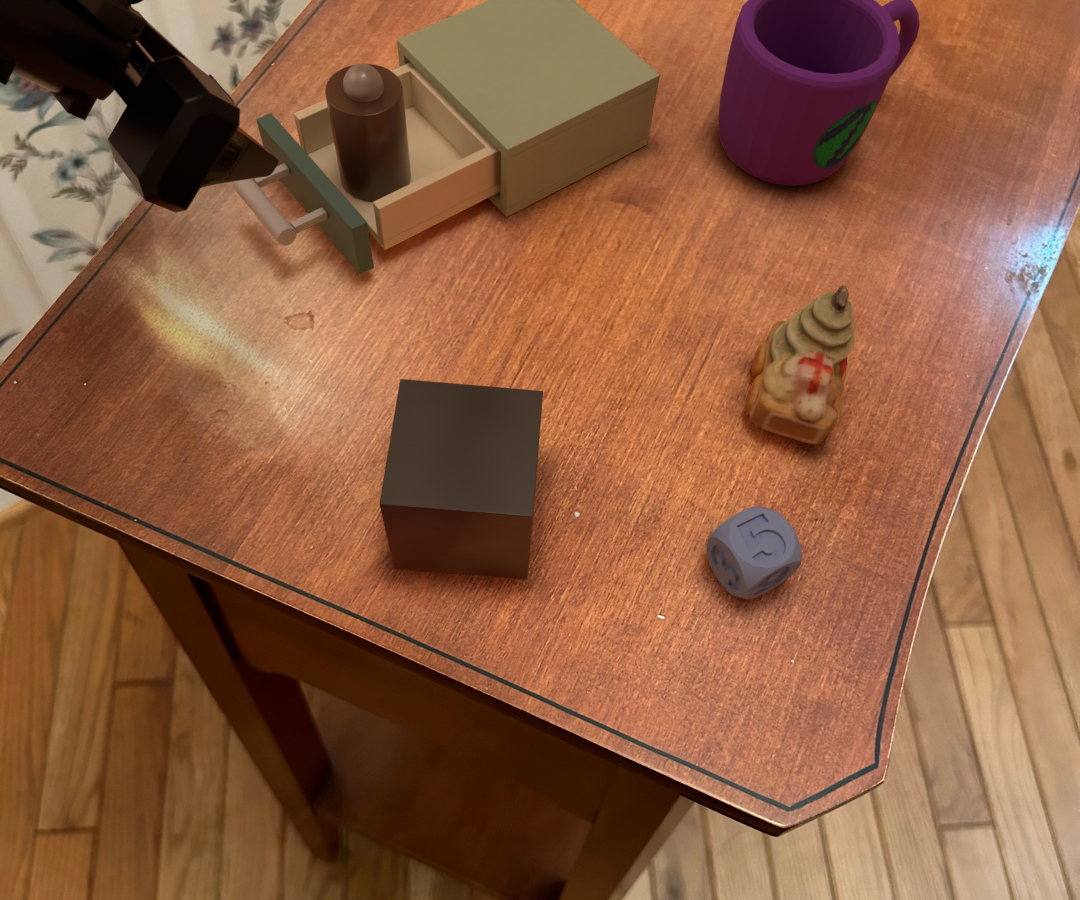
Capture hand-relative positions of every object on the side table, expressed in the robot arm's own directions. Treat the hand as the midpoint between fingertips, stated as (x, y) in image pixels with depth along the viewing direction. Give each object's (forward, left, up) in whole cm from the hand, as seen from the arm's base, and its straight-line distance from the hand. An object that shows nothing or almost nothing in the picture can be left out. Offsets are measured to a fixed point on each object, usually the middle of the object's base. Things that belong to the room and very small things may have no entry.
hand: (235, 122), depth 56 cm
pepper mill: (+5, +8, -9) cm, 13 cm away
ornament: (+37, +1, -12) cm, 39 cm away
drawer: (+4, +7, -10) cm, 13 cm away
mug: (+33, +27, -12) cm, 44 cm away
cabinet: (+12, +19, -11) cm, 25 cm away
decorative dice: (+37, -12, -12) cm, 41 cm away
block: (+20, -14, -11) cm, 27 cm away
